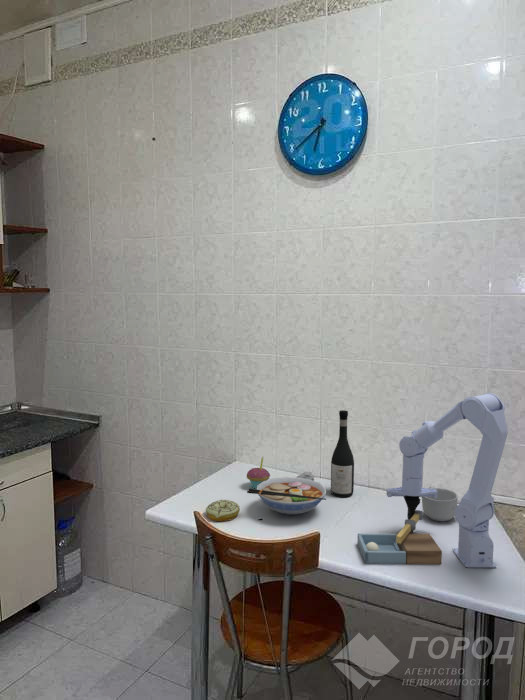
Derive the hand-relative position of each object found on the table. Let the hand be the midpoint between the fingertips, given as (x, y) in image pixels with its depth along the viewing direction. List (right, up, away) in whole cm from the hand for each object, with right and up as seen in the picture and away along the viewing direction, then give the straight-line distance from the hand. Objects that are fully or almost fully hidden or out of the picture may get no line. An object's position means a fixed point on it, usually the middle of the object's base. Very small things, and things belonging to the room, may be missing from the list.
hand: (410, 519), depth 150 cm
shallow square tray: (-12, -5, -13) cm, 18 cm away
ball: (-14, -4, -15) cm, 21 cm away
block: (-2, -5, -12) cm, 13 cm away
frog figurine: (-29, -1, +33) cm, 44 cm away
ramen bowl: (-35, -2, +15) cm, 38 cm away
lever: (-2, 0, -8) cm, 8 cm away
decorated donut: (-57, -3, +11) cm, 58 cm away
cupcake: (-46, 0, +36) cm, 58 cm away
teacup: (+12, -3, +12) cm, 17 cm away
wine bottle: (-16, -1, +30) cm, 34 cm away
